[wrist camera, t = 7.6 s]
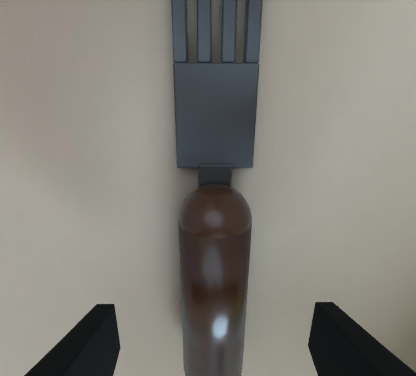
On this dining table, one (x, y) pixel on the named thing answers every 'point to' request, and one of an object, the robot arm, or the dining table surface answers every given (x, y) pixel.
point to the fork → (215, 184)
